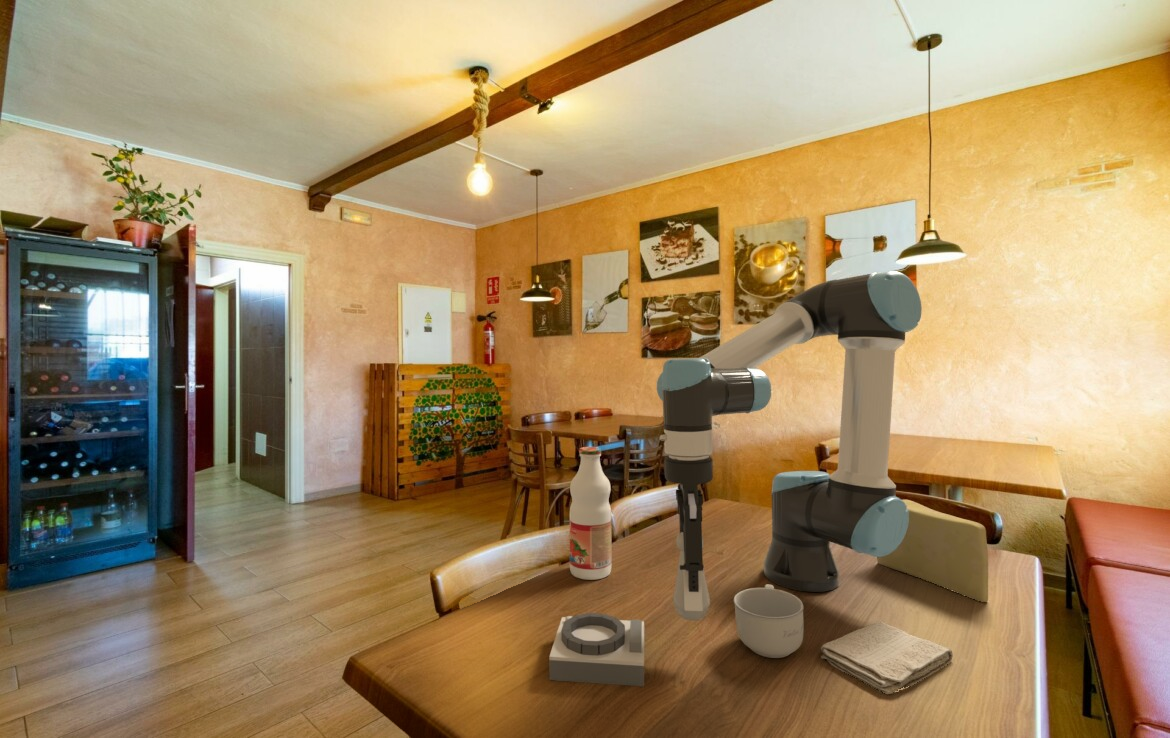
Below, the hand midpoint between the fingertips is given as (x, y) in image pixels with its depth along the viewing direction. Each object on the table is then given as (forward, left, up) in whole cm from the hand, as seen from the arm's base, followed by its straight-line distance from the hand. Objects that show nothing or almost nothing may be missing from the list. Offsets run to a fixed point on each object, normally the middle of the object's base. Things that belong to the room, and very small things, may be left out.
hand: (691, 599), depth 82 cm
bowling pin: (0, 0, -3) cm, 3 cm away
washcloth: (-30, -3, -10) cm, 32 cm away
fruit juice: (+20, -32, -10) cm, 38 cm away
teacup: (-13, -6, -10) cm, 17 cm away
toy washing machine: (+15, +2, -9) cm, 17 cm away
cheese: (-55, -35, -10) cm, 66 cm away
